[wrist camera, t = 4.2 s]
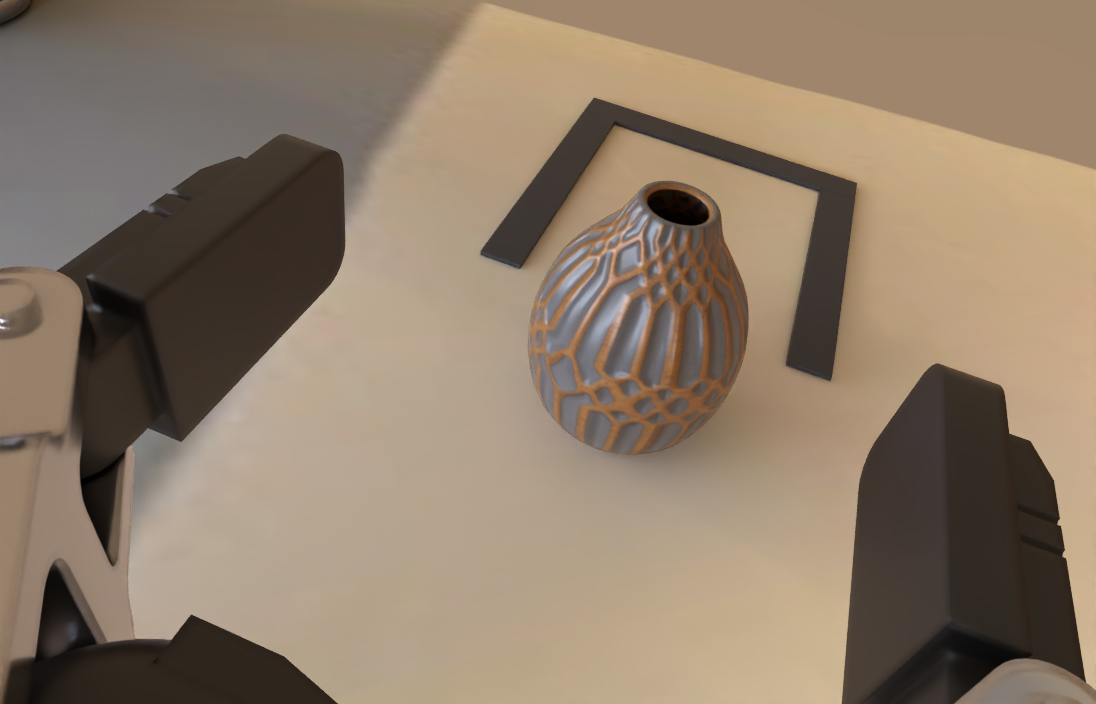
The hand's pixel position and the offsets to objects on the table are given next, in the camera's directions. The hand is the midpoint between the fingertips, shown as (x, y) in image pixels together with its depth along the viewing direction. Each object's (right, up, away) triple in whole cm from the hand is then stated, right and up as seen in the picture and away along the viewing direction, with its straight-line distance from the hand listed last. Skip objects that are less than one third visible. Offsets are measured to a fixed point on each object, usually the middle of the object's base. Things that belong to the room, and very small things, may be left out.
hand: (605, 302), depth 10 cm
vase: (+1, -3, +18) cm, 18 cm away
